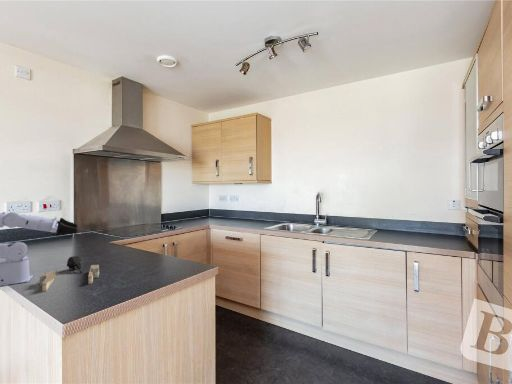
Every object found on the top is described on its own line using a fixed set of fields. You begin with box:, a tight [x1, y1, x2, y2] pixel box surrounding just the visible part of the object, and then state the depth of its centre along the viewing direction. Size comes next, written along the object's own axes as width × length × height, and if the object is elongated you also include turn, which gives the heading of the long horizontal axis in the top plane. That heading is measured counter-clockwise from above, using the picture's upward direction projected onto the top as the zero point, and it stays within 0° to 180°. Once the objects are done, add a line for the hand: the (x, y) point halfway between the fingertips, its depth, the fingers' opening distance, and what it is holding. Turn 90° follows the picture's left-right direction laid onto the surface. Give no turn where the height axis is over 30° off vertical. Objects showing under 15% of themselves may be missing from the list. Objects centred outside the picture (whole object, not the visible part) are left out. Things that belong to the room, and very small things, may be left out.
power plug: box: [66, 255, 83, 274], centre depth 126 cm, size 6×8×12 cm
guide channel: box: [39, 264, 100, 293], centre depth 112 cm, size 20×18×4 cm
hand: (76, 228), depth 124 cm, fingers open, 7 cm apart
